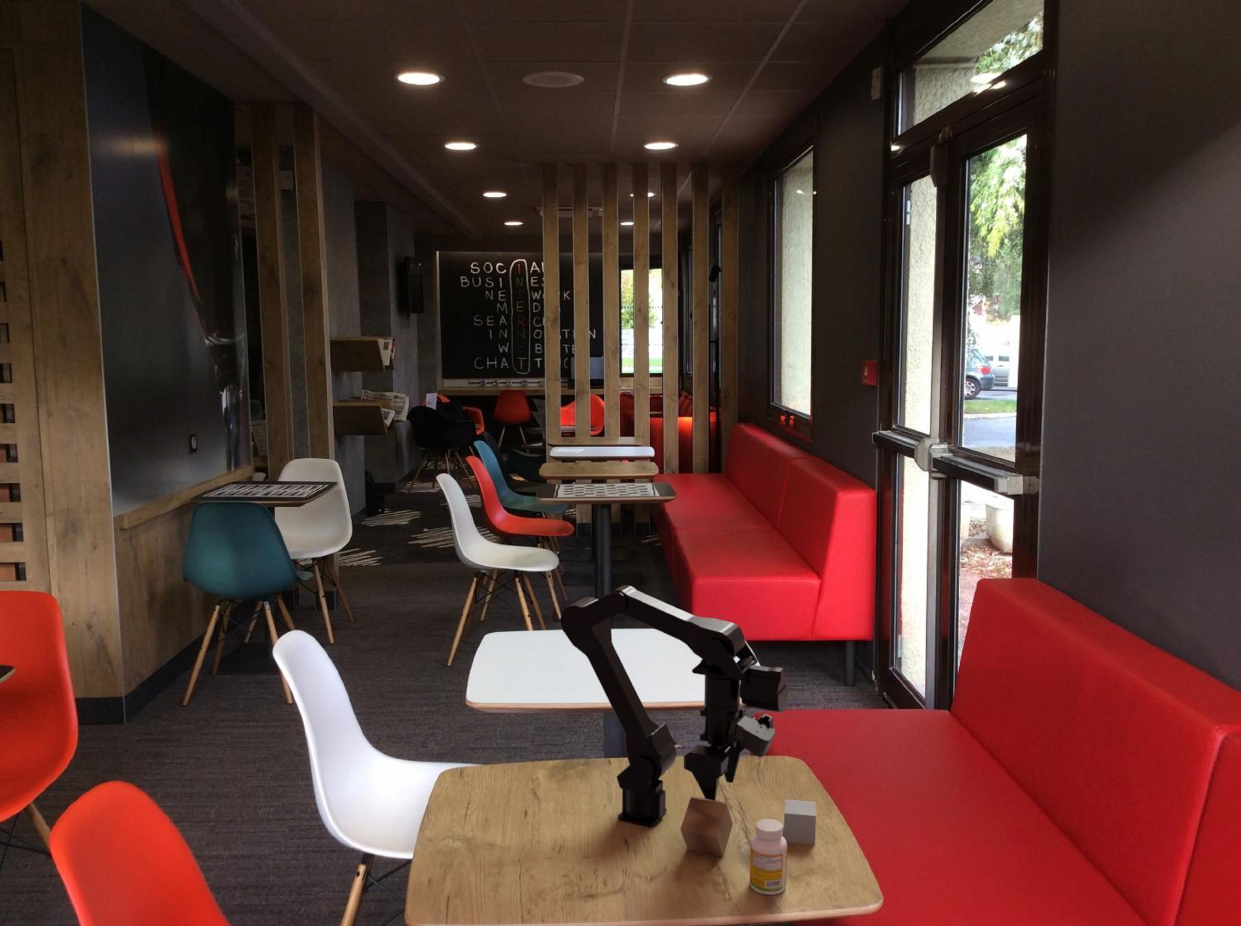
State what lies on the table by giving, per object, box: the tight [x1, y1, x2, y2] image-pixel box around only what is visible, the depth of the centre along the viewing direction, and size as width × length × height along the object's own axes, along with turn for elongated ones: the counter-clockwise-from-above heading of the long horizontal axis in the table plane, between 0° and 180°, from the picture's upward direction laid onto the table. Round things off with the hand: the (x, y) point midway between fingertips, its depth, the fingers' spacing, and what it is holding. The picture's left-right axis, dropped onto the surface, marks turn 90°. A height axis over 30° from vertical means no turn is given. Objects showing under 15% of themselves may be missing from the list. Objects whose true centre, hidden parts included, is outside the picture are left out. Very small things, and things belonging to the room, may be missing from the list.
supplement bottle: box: [749, 818, 788, 896], centre depth 155 cm, size 5×5×10 cm
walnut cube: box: [679, 795, 734, 858], centre depth 165 cm, size 6×6×6 cm
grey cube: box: [783, 799, 817, 846], centre depth 170 cm, size 5×5×5 cm
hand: (720, 792), depth 170 cm, fingers open, 9 cm apart
